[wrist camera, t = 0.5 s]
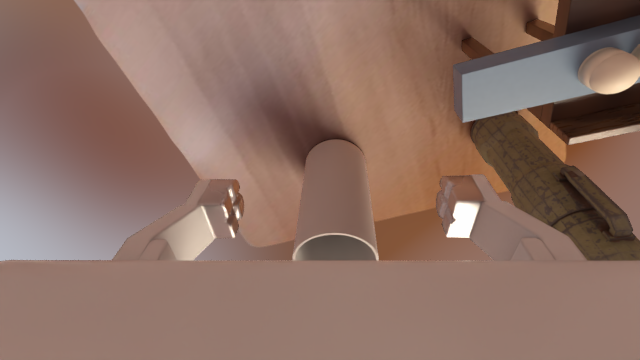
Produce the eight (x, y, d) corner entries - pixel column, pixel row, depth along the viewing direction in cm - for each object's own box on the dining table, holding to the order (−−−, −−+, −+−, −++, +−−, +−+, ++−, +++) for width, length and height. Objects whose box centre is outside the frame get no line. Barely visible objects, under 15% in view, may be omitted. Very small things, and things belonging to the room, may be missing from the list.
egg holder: (454, 110, 29) (474, 140, 25) (452, 64, 26) (474, 88, 22) (687, 55, 25) (757, 79, 21) (712, -5, 22) (797, 8, 18)
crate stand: (461, 50, 50) (567, 145, 27) (460, -45, 42) (605, -24, 19) (537, 30, 48) (721, 114, 25) (549, -75, 40) (831, -91, 17)
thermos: (469, 158, 63) (573, 332, 35) (470, 105, 56) (602, 270, 28) (516, 149, 61) (665, 325, 33) (524, 94, 54) (719, 257, 26)
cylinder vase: (339, 195, 70) (340, 295, 50) (294, 166, 66) (276, 264, 46) (378, 160, 64) (396, 259, 44) (331, 125, 59) (329, 219, 40)
